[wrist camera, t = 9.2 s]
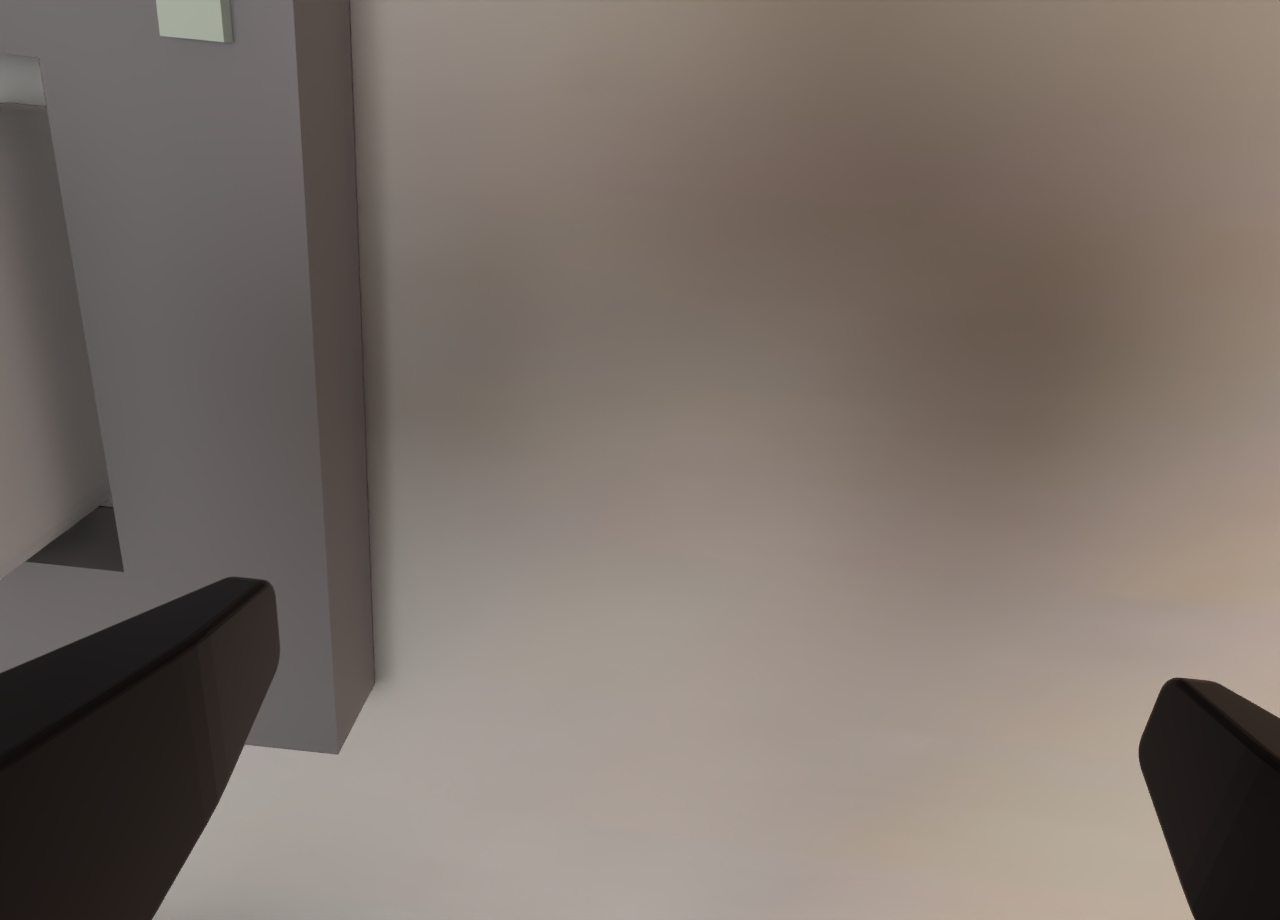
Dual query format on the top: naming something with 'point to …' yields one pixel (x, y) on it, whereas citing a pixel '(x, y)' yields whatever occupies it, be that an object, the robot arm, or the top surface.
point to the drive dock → (212, 331)
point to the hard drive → (41, 353)
